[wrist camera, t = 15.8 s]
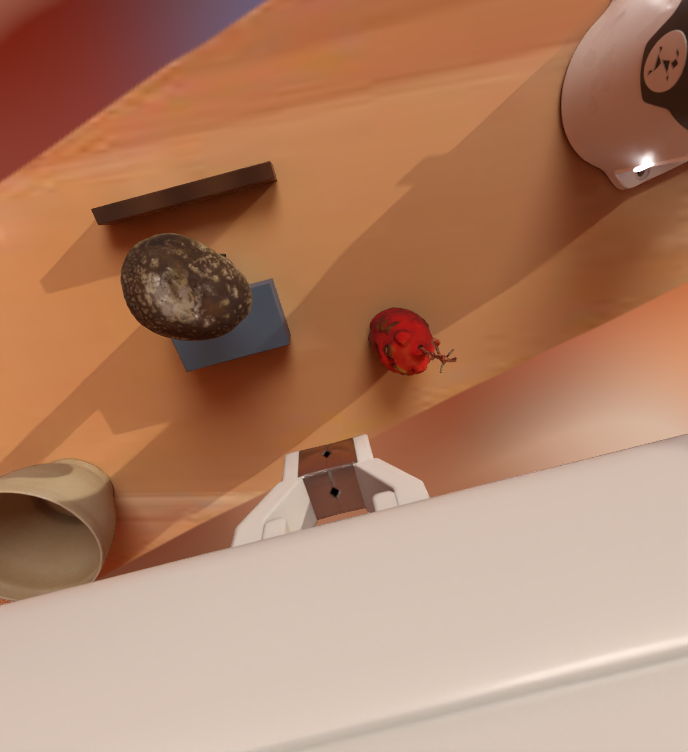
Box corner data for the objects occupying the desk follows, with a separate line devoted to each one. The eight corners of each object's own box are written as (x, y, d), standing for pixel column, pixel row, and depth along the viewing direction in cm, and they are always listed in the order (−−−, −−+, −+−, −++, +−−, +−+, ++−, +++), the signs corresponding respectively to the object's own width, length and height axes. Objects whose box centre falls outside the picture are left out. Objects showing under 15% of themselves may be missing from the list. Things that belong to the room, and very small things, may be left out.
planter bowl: (109, 549, 56) (65, 622, 46) (-8, 500, 51) (-86, 569, 41) (162, 474, 52) (127, 535, 42) (41, 413, 47) (-32, 466, 37)
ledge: (272, 164, 39) (270, 160, 37) (277, 180, 39) (275, 178, 37) (103, 209, 39) (90, 209, 37) (110, 225, 40) (98, 225, 37)
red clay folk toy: (354, 324, 46) (373, 369, 32) (403, 290, 45) (445, 321, 31) (388, 371, 49) (419, 432, 35) (435, 340, 47) (486, 389, 34)
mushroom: (159, 265, 42) (83, 287, 28) (214, 209, 40) (163, 203, 26) (224, 328, 45) (184, 376, 31) (277, 279, 43) (261, 306, 29)
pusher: (272, 278, 43) (269, 282, 40) (290, 335, 46) (289, 344, 43) (171, 305, 43) (159, 312, 40) (195, 361, 46) (186, 371, 43)
